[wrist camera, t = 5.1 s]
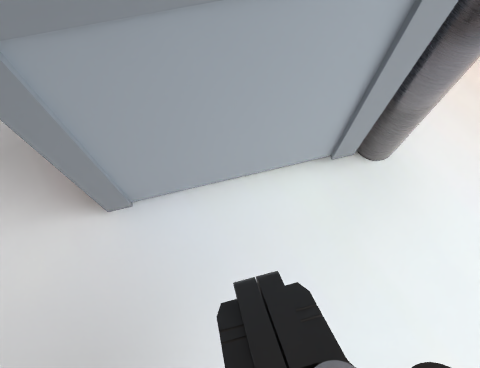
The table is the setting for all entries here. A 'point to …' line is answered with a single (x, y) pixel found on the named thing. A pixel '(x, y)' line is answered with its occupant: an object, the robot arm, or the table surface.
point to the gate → (201, 84)
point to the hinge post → (427, 80)
